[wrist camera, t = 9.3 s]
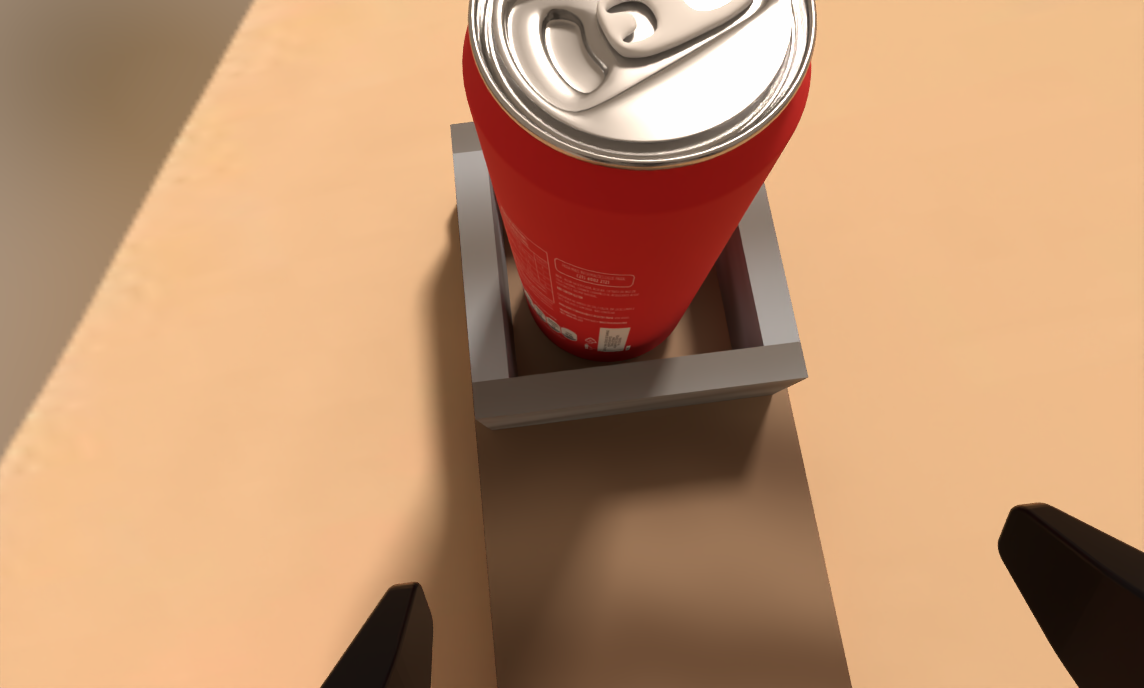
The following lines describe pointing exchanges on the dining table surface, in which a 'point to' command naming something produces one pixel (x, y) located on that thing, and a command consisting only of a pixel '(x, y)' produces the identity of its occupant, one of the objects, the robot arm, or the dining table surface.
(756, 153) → the beverage can
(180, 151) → the dining table surface
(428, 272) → the dining table surface
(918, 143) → the dining table surface
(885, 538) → the dining table surface
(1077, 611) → the robot arm
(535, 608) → the socket board
